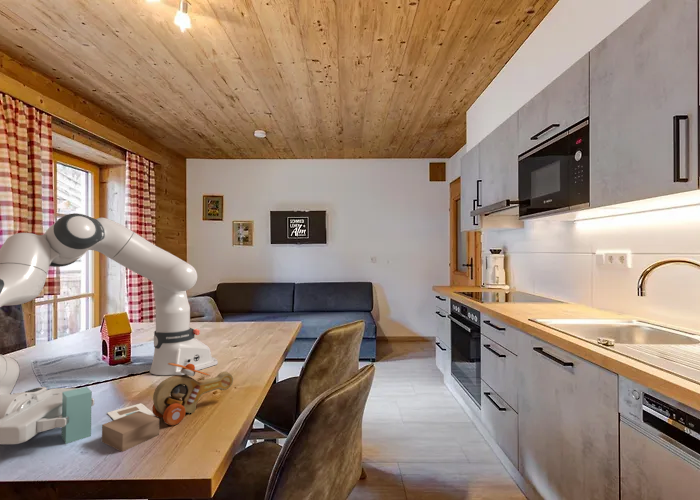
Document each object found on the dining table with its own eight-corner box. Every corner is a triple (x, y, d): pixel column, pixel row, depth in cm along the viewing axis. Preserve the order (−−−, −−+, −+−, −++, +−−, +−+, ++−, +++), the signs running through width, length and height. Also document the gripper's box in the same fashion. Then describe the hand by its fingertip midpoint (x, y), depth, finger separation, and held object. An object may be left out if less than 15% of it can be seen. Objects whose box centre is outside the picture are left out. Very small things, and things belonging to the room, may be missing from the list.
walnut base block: (138, 427, 85) (138, 411, 85) (159, 436, 81) (159, 418, 81) (101, 443, 78) (102, 424, 78) (122, 453, 74) (122, 433, 74)
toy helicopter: (147, 420, 88) (147, 364, 88) (223, 395, 104) (224, 348, 104) (160, 430, 83) (161, 371, 83) (239, 402, 99) (239, 353, 99)
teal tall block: (85, 429, 83) (86, 386, 83) (90, 436, 80) (91, 391, 80) (61, 436, 80) (62, 392, 80) (65, 443, 77) (66, 397, 77)
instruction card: (141, 403, 97) (141, 402, 97) (156, 416, 90) (156, 415, 90) (107, 413, 92) (107, 412, 92) (120, 427, 84) (120, 426, 84)
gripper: (-32, 423, 68) (48, 418, 70) (44, 384, 88) (104, 381, 90) (-33, 456, 68) (48, 450, 70) (43, 409, 88) (104, 406, 90)
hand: (80, 411), depth 80 cm, fingers open, 8 cm apart
